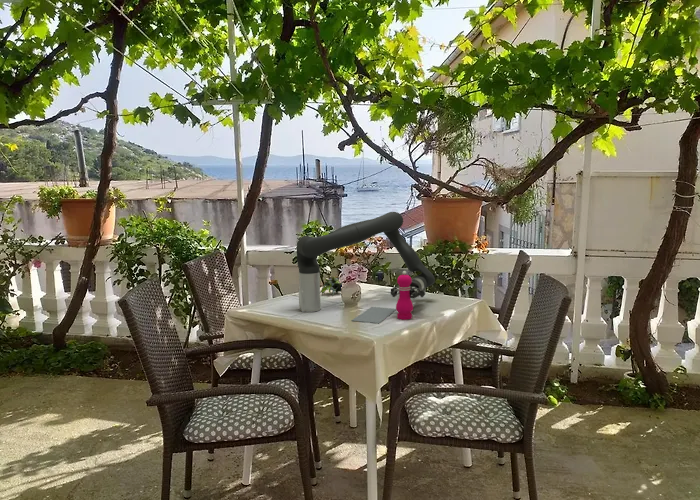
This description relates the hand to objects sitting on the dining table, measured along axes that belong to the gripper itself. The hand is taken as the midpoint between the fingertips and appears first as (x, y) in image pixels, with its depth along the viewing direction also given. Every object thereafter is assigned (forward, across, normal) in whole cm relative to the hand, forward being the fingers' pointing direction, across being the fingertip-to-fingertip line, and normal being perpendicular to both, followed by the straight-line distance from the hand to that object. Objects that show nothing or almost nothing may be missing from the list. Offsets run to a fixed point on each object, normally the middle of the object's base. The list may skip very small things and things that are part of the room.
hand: (403, 295), depth 212 cm
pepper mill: (-2, 0, +10) cm, 10 cm away
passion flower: (-33, -47, +10) cm, 58 cm away
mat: (-2, -13, +10) cm, 17 cm away
